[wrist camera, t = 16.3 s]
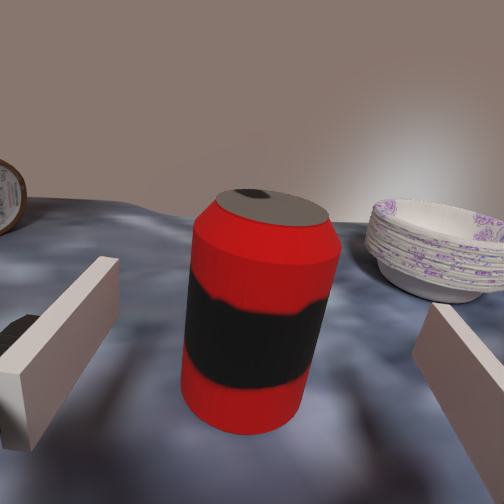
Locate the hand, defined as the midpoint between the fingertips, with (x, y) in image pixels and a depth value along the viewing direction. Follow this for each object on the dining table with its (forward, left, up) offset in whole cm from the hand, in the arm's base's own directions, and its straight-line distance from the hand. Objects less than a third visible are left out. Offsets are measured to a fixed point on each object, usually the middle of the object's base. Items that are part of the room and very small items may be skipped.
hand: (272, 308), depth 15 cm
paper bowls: (-11, +29, -9) cm, 32 cm away
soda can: (-4, +2, -9) cm, 10 cm away
